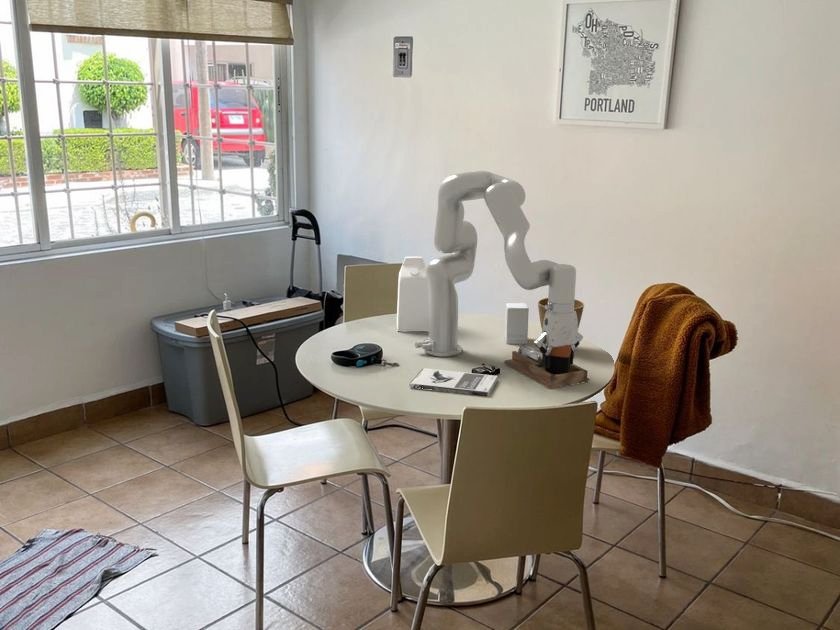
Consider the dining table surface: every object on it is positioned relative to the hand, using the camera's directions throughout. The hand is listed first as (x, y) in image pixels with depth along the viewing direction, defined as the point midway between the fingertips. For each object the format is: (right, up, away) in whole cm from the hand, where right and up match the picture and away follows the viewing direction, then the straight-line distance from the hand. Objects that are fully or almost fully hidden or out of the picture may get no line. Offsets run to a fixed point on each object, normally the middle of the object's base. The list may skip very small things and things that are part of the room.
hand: (557, 364), depth 232 cm
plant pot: (+5, +3, +29) cm, 30 cm away
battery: (0, -3, +1) cm, 3 cm away
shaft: (-6, 0, +13) cm, 14 cm away
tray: (-3, -3, +7) cm, 8 cm away
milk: (-43, +10, +54) cm, 70 cm away
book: (-31, -6, -3) cm, 32 cm away
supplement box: (-8, +6, +38) cm, 39 cm away
